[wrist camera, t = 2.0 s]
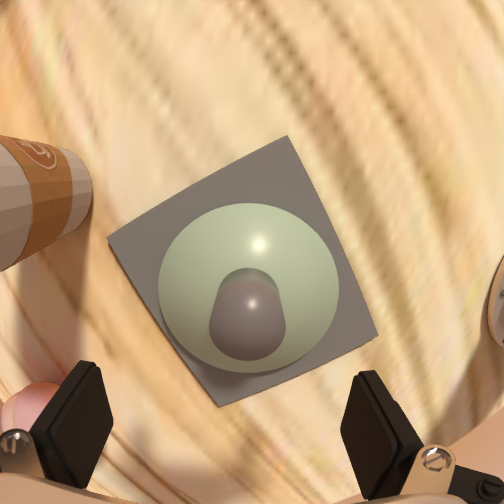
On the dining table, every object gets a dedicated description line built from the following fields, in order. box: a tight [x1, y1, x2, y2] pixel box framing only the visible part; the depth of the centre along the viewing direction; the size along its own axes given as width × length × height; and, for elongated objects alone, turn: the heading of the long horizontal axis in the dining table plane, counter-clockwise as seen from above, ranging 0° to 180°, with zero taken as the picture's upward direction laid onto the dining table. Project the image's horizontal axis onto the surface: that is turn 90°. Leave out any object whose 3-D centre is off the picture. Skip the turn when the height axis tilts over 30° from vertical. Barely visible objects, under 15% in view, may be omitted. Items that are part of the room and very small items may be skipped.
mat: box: [106, 135, 379, 407], centre depth 22 cm, size 16×14×1 cm
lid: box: [158, 203, 339, 373], centre depth 19 cm, size 12×12×6 cm
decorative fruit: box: [1, 382, 60, 432], centre depth 20 cm, size 9×8×10 cm
